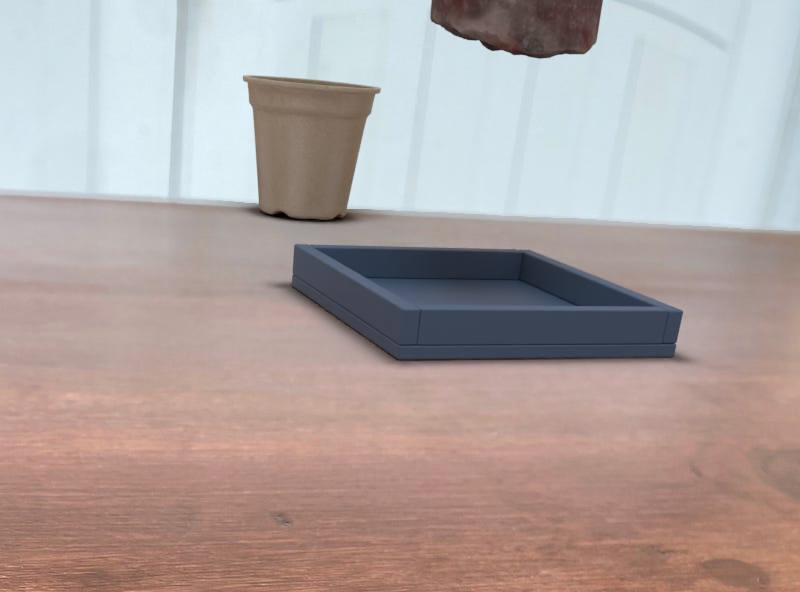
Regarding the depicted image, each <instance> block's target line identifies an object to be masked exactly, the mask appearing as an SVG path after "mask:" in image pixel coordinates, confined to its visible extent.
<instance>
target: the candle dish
mask: <svg viewBox="0 0 800 592" xmlns="http://www.w3.org/2000/svg"><path fill="white" fill-rule="evenodd" d="M292 257H293V261H292V274H291V275H292V276H291V286H292V287H293V288H295V290H297V291H299V292H300V293H301V294H304V296H306V297H307V298H309V299H310V300H312V301H313V302H315V303H316V304H317V305H318V306H321V307H322V308H323V309H325V310H326V311H327V312H329V313H330V314H331V315H333V316H335V317H336V318H338V319H339V320H340V321H342V322H344V323H345V324H346V325H348V326H349V327H351V328H352V329H353V330H355V331H357V332H358V333H359V334H360V335H362V336H363V337H365V338H367V339H368V340H369V341H371V342H372V343H374V344H375V345H376V346H378V347H379V348H381V349H382V350H384V351H385V352H387V353H388V354H390V355H391V356H393V357H394V358H395V359H397V360H401V361H402V360H404V361H405V360H410V361H411V360H502V359H503V360H504V359H505V360H507V359H508V360H509V359H512V360H513V359H514V360H515V359H601V358H602V359H604V358H605V359H606V358H607V359H608V358H609V359H610V358H611V359H613V358H616V359H617V358H673V357H675V352H676V348H677V343H678V337H679V334H680V330H681V329H680V328H681V324H682V321H683V320H682V319H683V314H684V311H683V310H682V309H680V308H677V307H674V306H673V305H670V304H668V303H665V302H663V301H660V300H657V299H655V298H652V297H650V296H647V295H645V294H642V293H640V292H638V291H635V290H633V289H630V288H627V287H624V286H622V285H619V284H618V283H617V284H616V283H614V282H612V281H609V280H607V279H604V278H602V277H599V276H597V275H594V274H591V273H589V272H587V271H584V270H582V269H580V268H576V267H574V266H571V265H569V264H567V263H565V262H561V261H559V260H557V259H554V258H551V257H549V256H546V255H544V254H541V253H538V252H536V251H533V250H531V249H517V248H479V247H478V248H477V247H475V248H473V247H437V246H436V247H435V246H396V245H395V246H394V245H393V246H390V245H354V244H352V245H350V244H349V245H348V244H347V245H346V244H312V243H311V244H306V243H295V244H294V246H293V256H292Z"/></svg>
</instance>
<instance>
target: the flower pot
mask: <svg viewBox="0 0 800 592" xmlns="http://www.w3.org/2000/svg"><path fill="white" fill-rule="evenodd" d="M242 82H245V83H246V84H247V89H248V90H247V91H248V103H249V105H250V106H251V108H252V117H253V119H252V120H253V133H254V146H255V147H254V148H255V160H256V161H255V164H256V177H257V193H258V208H259V210H261V211H262V212H264V213H265V214H268V215H278V214H283V213H284V214H285V215H286V216H288V217H289V218H293V219H299V220H307V219H309V220H310V219H312V220H318V221H328V220H333V219H334V218H344V217H345V216H346V215H347V210H348V204H349V200H350V195H351V191H352V187H353V181H354V178H355V177H354V176H355V173H356V168H357V163H358V160H359V159H358V158H359V155H360V154H359V153H360V149H361V145H362V140H363V137H364V132H365V127H366V123H367V120H368V117H369V116H370V115H371V114H372V110H373V106H374V101H375V98H376V95H378V94H380V93H381V89H382V87H379V86H374V85H367V84H358V83H357V84H356V83H349V82H344V81H343V82H340V81H331V80H324V79H323V80H322V79H313V78H304V77H303V78H302V77H288V76H274V75H273V76H272V75H256V74H255V75H253V74H245V75H242Z"/></svg>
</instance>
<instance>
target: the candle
mask: <svg viewBox="0 0 800 592" xmlns="http://www.w3.org/2000/svg"><path fill="white" fill-rule="evenodd" d="M430 2H431V5H430V21H431V23H434V24H435V25H438V26H441V28H443V29H444V30H445V31H446V32H448V33H450V34H452V36H454V37H458V38H461V39H463V40H467V41H475V42H476V41H479V42H480V44H481V45H482V46H483V47H484V48H486V49H487V50H489V51H491V52H498V51H503V52H506V53H509V54H511V55H512V56H526V57H527V58H534V59H539V60H540V59H541V60H542V59H550V58H553V57H556V56H560V55H561V56H562V55H585V54H587V53H588V52H590V50H591V49H592V48H593V46H595V45H596V43H597V40H598V35H599V27H600V21H601V16H602V8H603V3H604V0H431V1H430Z"/></svg>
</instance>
